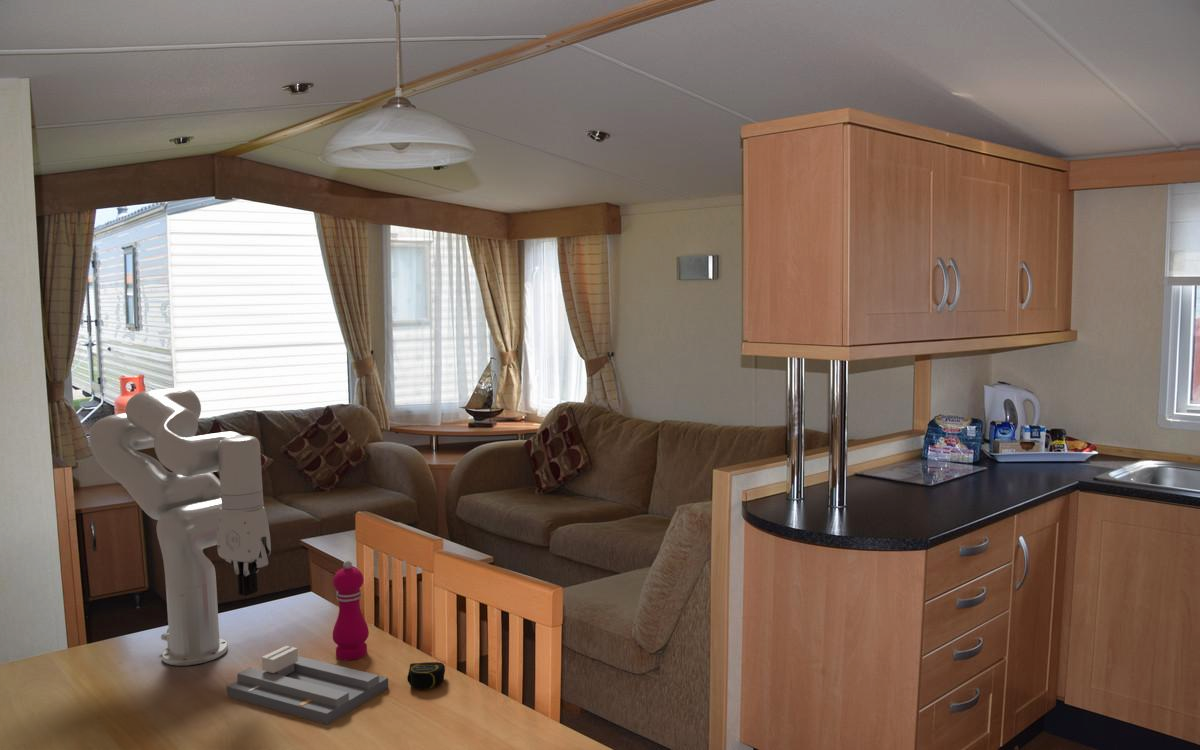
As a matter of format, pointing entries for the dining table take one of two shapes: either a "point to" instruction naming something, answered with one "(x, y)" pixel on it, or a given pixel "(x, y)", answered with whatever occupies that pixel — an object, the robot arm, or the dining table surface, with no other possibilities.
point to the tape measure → (426, 675)
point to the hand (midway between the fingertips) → (248, 593)
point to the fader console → (308, 689)
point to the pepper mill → (349, 614)
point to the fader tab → (280, 661)
